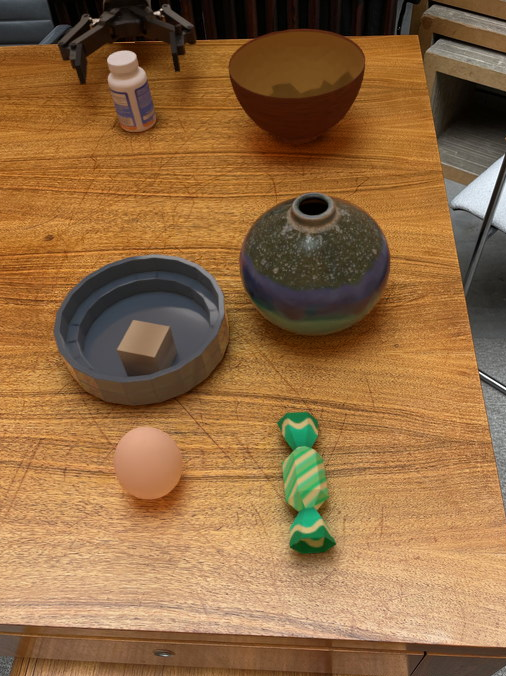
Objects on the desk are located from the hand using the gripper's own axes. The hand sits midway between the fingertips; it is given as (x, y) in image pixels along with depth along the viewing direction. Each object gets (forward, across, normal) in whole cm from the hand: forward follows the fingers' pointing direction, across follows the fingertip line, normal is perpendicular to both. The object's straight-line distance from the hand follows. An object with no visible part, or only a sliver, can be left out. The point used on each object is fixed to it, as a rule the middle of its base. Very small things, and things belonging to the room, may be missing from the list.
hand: (128, 68), depth 90 cm
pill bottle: (+3, 0, -7) cm, 7 cm away
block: (+50, -1, -6) cm, 50 cm away
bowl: (+11, -22, -7) cm, 26 cm away
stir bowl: (+46, 0, -6) cm, 46 cm away
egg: (+63, -1, -7) cm, 63 cm away
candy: (+66, -14, -7) cm, 68 cm away
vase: (+44, -19, -7) cm, 48 cm away
